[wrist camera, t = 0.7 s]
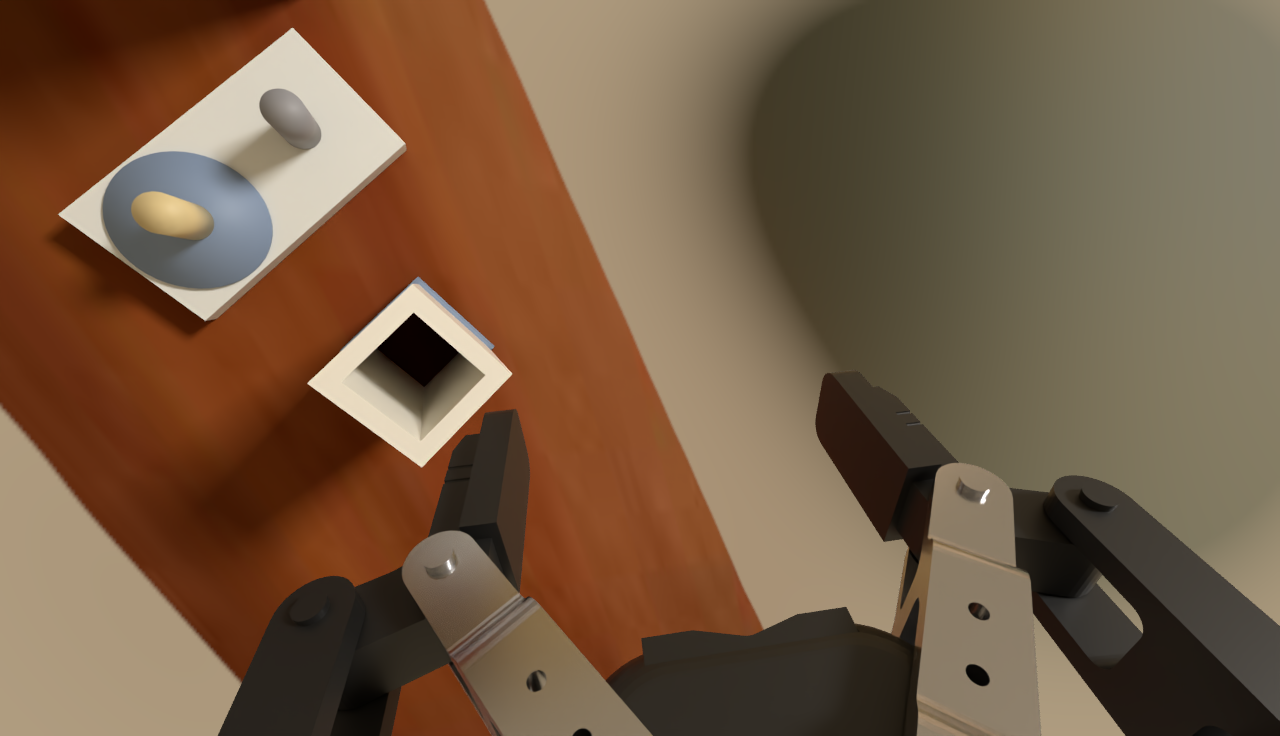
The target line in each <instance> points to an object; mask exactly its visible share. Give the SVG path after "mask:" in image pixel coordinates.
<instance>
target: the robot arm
mask: <svg viewBox="0 0 1280 736" xmlns="http://www.w3.org/2000/svg"><path fill="white" fill-rule="evenodd" d="M816 432H817V435H818V438H819V440H820V442H821V444H822V446H823V447H824V449H825V450H826V452H827V453H828V455H829V457H830V458H831V459H832V461H833V463H834V464H835V466H836V467H837V469H838V471H839V472H840V474H841V475H842V477H843V479H844V480H845V482H846V483H847V485H848V486H849V488H850V489H851V491H852V493H853V494H854V496H855V497H856V499H857V500H858V502H859V504H860V505H861V507H862V508H863V510H864V511H865V513H866V514H867V516H868V517H869V519H870V521H871V522H872V524H873V525H874V527H875V528H876V530H877V532H878V533H879V535H880V536H881V538H882V539H883V541H884V542H885V541H892V540H899V539H904V541H905V542H906V544H907V545H908V549H907V551H906V554H905V559H904V565H903V571H902V577H901V583H900V589H899V596H898V602H897V608H896V614H895V620H894V624H893V628H892V632H891V634H890V633H888V632H885V631H882V630H879V629H876V628H873V627H870V626H865V625H860V624H854V622H853V620H852V618H851V616H850V614H849V611H848V609H847V608H846V607H842V608H836V609H829V610H823V611H816V612H811V613H803V614H797V615H795V616H793V617H791V618H788V619H786V620H784V621H782V622H780V623H778V624H776V625H774V626H772V627H769V628H767V629H765V630H763V631H761V632H759V633H756V634H754V635H751V636H740V635H731V634H721V633H712V632H703V631H686V632H680V633H673V634H666V635H660V636H653V637H647V638H641V639H642V648H643V655H641V656H639V657H637V658H635V659H633V660H631V661H629V662H628V663H626V664H625V665H623V666H621V667H620V668H619V669H618V670H617V671H615V672H614V673H613V674H612V675H610V677H609V678H608V679H607V680H606V681H605V680H604V679H603V678H602V676H601V675H600V674H599V673H598V672H597V671H596V669H595V668H594V667H593V666H592V665H591V664H590V663H589V661H588V660H587V659H586V658H585V657H584V656H583V654H582V653H581V652H580V651H579V650H578V649H577V648H576V646H575V645H574V644H573V643H572V642H571V641H570V639H569V638H568V637H567V636H566V635H565V634H564V633H563V631H562V630H561V629H560V628H559V627H558V626H557V624H556V623H555V622H554V621H553V620H552V619H551V617H550V616H549V615H548V614H547V613H546V612H545V611H544V609H543V608H542V607H541V606H540V605H539V604H538V603H537V602H536V601H535V600H534V599H533V598H531V597H527V598H526V599H525V598H523V597H522V596H521V595H520V594H519V593H520V582H521V571H522V559H523V548H524V537H525V525H526V514H527V503H528V492H529V480H530V467H529V458H528V453H527V449H526V445H525V441H524V437H523V432H522V428H521V424H520V420H519V416H518V413H517V411H516V409H513V410H504V411H496V412H487V413H485V415H484V418H483V422H482V427H481V431H480V434H473V435H466V436H465V437H464V438H463V439H462V440H461V442H460V443H459V444H458V445H457V446H456V448H455V449H454V450H453V452H452V456H451V459H450V463H449V466H448V471H447V473H446V477H445V480H444V481H445V484H443V487H442V491H441V494H440V498H439V501H438V505H437V508H436V512H435V515H434V519H433V522H432V526H431V529H430V533H429V536H428V538H426V539H425V540H423V541H422V542H420V543H419V544H418V545H417V546H416V547H415V548H414V549H413V550H412V551H411V552H410V553H409V555H408V556H407V558H406V560H405V562H404V564H403V566H402V567H400V568H398V569H397V570H395V571H393V572H390V573H388V574H386V575H383V576H381V577H378V578H376V579H374V580H371V581H369V582H366V583H364V584H361V585H359V586H356V587H354V586H353V584H352V583H351V582H350V581H349V580H348V579H346V578H344V577H340V576H329V577H323V578H319V579H317V580H314V581H312V582H310V583H308V584H306V585H304V586H302V587H301V588H299V589H297V590H296V591H295V592H293V593H292V594H291V595H290V596H289V597H288V598H286V599H285V600H284V601H283V603H282V604H281V605H280V606H279V607H278V609H277V610H276V611H275V613H274V615H273V617H272V618H271V620H270V623H269V625H268V627H267V629H266V631H265V634H264V636H263V638H262V640H261V642H260V644H259V647H258V649H257V651H256V653H255V655H254V658H253V660H252V662H251V664H250V666H249V669H248V671H247V673H246V675H245V677H244V679H243V682H242V684H241V686H240V688H239V691H238V693H237V695H236V697H235V699H234V701H233V704H232V706H231V708H230V710H229V712H228V715H227V717H226V719H225V721H224V724H223V725H222V728H221V730H220V732H219V734H218V736H391V734H392V730H393V725H394V720H395V715H396V710H397V705H398V700H399V695H400V690H401V686H403V685H405V684H407V683H409V682H411V681H413V680H415V679H417V678H419V677H421V676H423V675H425V674H427V673H429V672H431V671H433V670H435V669H438V668H440V667H442V666H444V665H446V664H448V665H449V667H450V668H451V670H452V671H453V673H454V675H455V676H456V678H457V680H458V681H459V683H460V684H461V686H462V688H463V689H464V691H465V692H466V694H467V696H468V697H469V699H470V700H471V702H472V704H473V705H474V707H475V709H476V710H477V712H478V713H479V715H480V717H481V718H482V720H483V721H484V723H485V725H486V726H487V728H488V730H489V731H490V733H491V735H492V736H1041V725H1040V710H1039V695H1038V681H1037V666H1036V652H1035V637H1034V623H1033V614H1034V615H1035V616H1036V618H1037V619H1038V620H1039V621H1040V623H1041V624H1042V626H1043V627H1044V628H1045V630H1046V631H1047V632H1048V634H1049V635H1050V636H1051V638H1052V639H1053V640H1054V642H1055V643H1056V644H1057V646H1058V647H1059V648H1060V650H1061V651H1062V652H1063V653H1064V655H1065V656H1066V657H1067V659H1068V660H1069V661H1070V663H1071V664H1072V665H1073V666H1074V668H1075V669H1076V671H1077V672H1078V673H1079V675H1080V676H1081V677H1082V679H1083V680H1084V681H1085V683H1086V684H1087V685H1088V687H1089V688H1090V689H1091V690H1092V692H1093V693H1094V695H1095V696H1096V697H1097V698H1098V700H1099V701H1100V702H1101V704H1102V705H1103V706H1104V708H1105V709H1106V710H1107V712H1108V713H1109V714H1110V715H1111V717H1112V718H1113V720H1114V721H1115V722H1116V724H1117V725H1118V726H1119V727H1120V729H1121V730H1122V732H1123V733H1124V734H1125V736H1280V626H1279V625H1278V624H1277V623H1276V622H1274V621H1273V620H1272V619H1271V618H1270V617H1269V616H1267V615H1266V614H1265V613H1264V612H1263V611H1262V610H1260V609H1259V608H1258V607H1257V606H1256V605H1255V604H1253V603H1252V602H1251V601H1250V600H1249V599H1248V598H1246V597H1245V596H1244V595H1243V594H1242V593H1241V592H1239V591H1238V590H1237V589H1236V588H1235V587H1234V586H1233V585H1231V584H1230V583H1229V582H1228V581H1227V580H1226V579H1224V578H1223V577H1222V576H1221V575H1220V574H1218V573H1217V572H1216V571H1215V570H1214V569H1213V568H1212V567H1210V566H1209V565H1208V564H1207V563H1206V562H1204V561H1203V560H1202V559H1201V558H1200V557H1199V556H1198V555H1196V554H1195V553H1194V552H1193V551H1192V550H1191V549H1189V548H1188V547H1187V546H1186V545H1185V544H1184V543H1183V542H1181V541H1180V540H1179V539H1178V538H1177V537H1176V536H1174V535H1173V534H1172V533H1171V532H1170V531H1169V530H1167V529H1166V528H1165V527H1164V526H1162V524H1160V523H1159V522H1158V521H1157V520H1156V519H1155V518H1153V517H1152V516H1151V515H1150V514H1149V513H1148V512H1146V511H1145V510H1144V509H1143V508H1142V507H1140V506H1139V505H1138V504H1137V503H1136V502H1135V501H1134V500H1133V499H1131V498H1130V497H1129V496H1127V495H1126V494H1125V493H1123V492H1122V491H1120V490H1119V489H1117V488H1115V487H1113V486H1111V485H1109V484H1107V483H1105V482H1102V481H1099V480H1096V479H1093V478H1089V477H1084V476H1064V477H1061V478H1059V479H1058V480H1057V481H1056V482H1055V483H1054V485H1053V487H1052V489H1051V490H1050V492H1049V493H1048V492H1039V491H1030V490H1022V489H1013V488H1009V487H1008V486H1007V485H1006V484H1005V483H1004V482H1003V481H1002V480H1001V479H1000V478H999V477H997V476H996V475H994V474H993V473H991V472H989V471H987V470H985V469H983V468H980V467H977V466H974V465H970V464H965V463H959V462H958V461H957V460H956V459H955V458H954V457H953V456H952V455H951V454H950V453H949V452H948V451H947V450H946V449H945V448H944V447H943V445H942V444H941V443H940V442H939V441H938V440H937V439H936V438H935V437H934V436H933V435H932V434H931V433H930V432H929V431H928V429H927V428H926V427H925V426H924V425H921V424H920V421H919V420H918V419H917V418H916V417H915V416H914V415H913V414H912V413H911V414H910V410H909V409H908V408H907V407H906V406H905V405H904V404H903V403H902V402H901V401H900V400H899V399H898V398H897V397H896V396H894V395H892V394H891V393H889V392H887V391H886V390H883V389H882V388H880V387H872V386H871V385H870V383H869V382H867V380H866V379H865V378H864V377H863V376H862V374H860V372H858V371H856V370H851V371H842V372H835V373H827V374H826V375H825V376H824V378H823V381H822V386H821V392H820V397H819V403H818V409H817V414H816ZM1102 575H1103V576H1104V577H1105V578H1106V579H1107V580H1108V581H1109V582H1110V583H1111V584H1112V585H1113V586H1114V587H1115V588H1116V589H1117V591H1118V592H1119V593H1120V594H1121V595H1122V596H1123V597H1124V598H1125V599H1126V600H1127V601H1128V602H1129V603H1130V604H1131V605H1132V607H1133V608H1134V609H1135V610H1136V612H1137V613H1138V615H1139V617H1140V619H1141V621H1142V624H1143V634H1142V633H1141V631H1140V630H1139V629H1138V628H1137V627H1136V626H1135V625H1134V624H1133V623H1132V622H1131V621H1130V620H1129V618H1128V617H1127V616H1126V615H1125V614H1124V613H1123V612H1122V611H1121V610H1120V609H1119V608H1118V606H1117V605H1116V604H1115V603H1114V602H1113V601H1112V600H1111V599H1110V598H1109V597H1108V595H1107V594H1106V593H1105V592H1104V591H1103V590H1102V589H1101V588H1100V587H1099V586H1098V584H1097V581H1098V580H1099V579H1100V577H1101V576H1102Z"/></svg>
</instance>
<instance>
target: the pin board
mask: <svg viewBox="0 0 1280 736" xmlns="http://www.w3.org/2000/svg"><path fill="white" fill-rule="evenodd" d="M406 150H407V149H406V144H405V143H404V142H403V140H402V139H401V138H400V137H399V136H398V135H397V134H396V133H395V132H394V131H393V130H392V129H391V128H390V127H389V126H388V125H387V124H386V123H385V122H384V121H383V120H382V119H381V118H380V117H379V116H378V115H377V114H376V113H375V112H374V111H373V110H372V109H371V108H370V107H369V106H368V105H367V104H366V103H365V101H364V100H363V99H362V98H361V97H360V96H359V95H358V94H357V93H356V92H355V91H354V90H353V89H352V88H351V87H350V86H349V85H348V84H347V83H346V82H345V81H344V80H343V79H342V78H341V77H340V76H339V75H338V74H337V73H336V72H335V71H334V70H333V69H332V68H331V67H330V66H329V65H328V64H327V63H326V61H325V60H324V59H323V58H322V57H321V56H320V55H319V54H318V53H317V52H316V51H315V50H314V49H313V48H312V47H311V46H310V45H309V44H308V43H307V42H306V41H305V40H304V39H303V38H302V37H301V36H300V35H299V34H298V33H297V32H296V31H295V30H294V29H293V28H292V29H290V30H289V31H288V32H287V33H285V34H284V35H283V36H282V37H280V38H279V39H278V40H277V41H275V42H274V43H273V44H272V45H270V46H269V47H268V48H267V49H265V50H264V51H263V52H262V53H260V54H259V55H258V56H257V57H255V58H254V59H253V60H252V61H250V62H249V63H248V64H247V65H245V66H244V67H243V68H241V69H240V70H239V71H238V72H236V73H235V74H234V75H233V76H231V77H230V78H229V79H228V80H226V81H225V82H224V83H223V84H221V85H220V86H219V87H218V88H216V89H215V90H214V91H213V92H211V93H210V94H209V95H208V96H206V97H205V98H204V99H203V100H201V101H200V102H199V103H198V104H196V105H195V106H194V107H193V108H191V109H190V110H189V111H187V112H186V113H185V114H184V115H182V116H181V117H180V118H179V119H177V120H176V121H175V122H174V123H172V124H171V125H170V126H169V127H167V128H166V129H165V130H164V131H162V132H161V133H160V134H159V135H157V136H156V137H155V138H154V139H152V140H151V141H150V142H149V143H147V144H146V145H145V146H144V147H142V148H141V149H140V150H139V151H137V152H136V153H135V154H133V155H132V156H131V157H130V158H128V159H127V160H126V161H125V162H123V163H122V164H121V165H120V166H118V167H117V168H116V169H115V170H113V171H112V172H111V173H110V174H108V175H107V176H106V177H105V178H103V179H102V180H101V181H100V182H98V183H97V184H96V185H95V186H93V187H92V188H91V189H90V190H88V191H87V192H86V193H85V194H83V195H82V196H81V197H80V198H78V199H77V200H76V201H74V202H73V203H72V204H71V205H69V206H68V207H67V208H66V209H64V210H63V211H62V212H61V213H59V214H58V215H59V216H61V217H62V218H63V219H65V220H66V221H68V222H69V223H70V224H72V225H73V226H75V227H76V228H77V229H79V230H80V231H81V232H83V233H84V234H86V235H87V236H88V237H90V238H91V239H93V240H94V241H95V242H97V243H98V244H99V245H101V246H102V247H104V248H105V249H106V250H108V251H109V252H111V253H112V254H113V255H115V256H116V257H118V258H119V259H120V260H122V261H123V262H124V263H126V264H127V265H129V266H130V267H131V268H133V269H134V270H136V271H137V272H138V273H140V274H141V275H142V276H144V277H145V278H147V279H148V280H149V281H151V282H152V283H154V284H155V285H156V286H158V287H159V288H160V289H162V290H163V291H165V292H166V293H167V294H169V295H170V296H172V297H173V298H174V299H176V300H177V301H178V302H180V303H181V304H183V305H184V306H185V307H187V308H188V309H190V310H191V311H192V312H194V313H195V314H196V315H198V316H199V317H201V318H202V319H203V320H205V321H207V320H213V319H217V318H218V317H219V316H220V315H222V314H223V313H224V312H225V311H226V310H227V309H228V308H229V307H231V306H232V305H233V304H234V303H235V302H236V301H237V300H238V299H240V298H241V297H242V296H243V295H244V294H245V293H246V292H247V291H249V290H250V289H251V288H252V287H253V286H254V285H255V284H256V283H258V282H259V281H260V280H261V279H262V278H263V277H264V276H265V275H267V274H268V273H269V272H270V271H271V270H272V269H273V268H274V267H276V266H277V265H278V264H279V263H280V262H281V261H282V260H283V259H285V258H286V257H287V256H288V255H289V254H290V253H291V252H292V251H294V250H295V249H296V248H297V247H298V246H299V245H300V244H301V243H303V242H304V241H305V240H306V239H307V238H308V237H309V236H311V235H312V234H313V233H314V232H315V231H316V230H317V229H318V228H320V227H321V226H322V225H323V224H324V223H325V222H326V221H327V220H329V219H330V218H331V217H332V216H333V215H334V214H335V213H336V212H338V211H339V210H340V209H341V208H342V207H343V206H344V205H345V204H347V203H348V202H349V201H350V200H351V199H352V198H353V197H354V196H356V195H357V194H358V193H359V192H360V191H361V190H362V189H363V188H365V187H366V186H367V185H368V184H369V183H370V182H371V181H372V180H374V179H375V178H376V177H377V176H378V175H379V174H380V173H381V172H383V171H384V170H385V169H386V168H387V167H388V166H389V165H390V164H392V163H393V162H394V161H395V160H396V159H397V158H398V157H399V156H401V155H402V154H403V153H404V152H405V151H406Z"/></svg>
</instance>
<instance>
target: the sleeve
mask: <svg viewBox="0 0 1280 736" xmlns="http://www.w3.org/2000/svg"><path fill="white" fill-rule="evenodd" d="M413 313H415V314H416V315H417V316H418V317H419V318H421V319H422V320H423V321H424V322H425V323H426V324H427V325H429V326H430V327H431V328H432V329H433V330H434V331H435V332H437V333H438V334H439V335H440V336H441V337H442V338H443V339H445V340H446V341H447V342H448V343H449V344H450V345H451V346H453V347H454V348H455V349H456V350H457V351H458V352H459V353H458V354H457V355H456V356H455V357H454V358H453V359H452V360H451V361H450V362H449V363H448V364H447V365H446V366H445V367H444V368H443V369H442V370H441V371H440V372H439V373H438V374H437V375H436V376H435V377H434V378H433V379H432V380H431V381H430V382H429V383H428V384H427V385H426V386H425V387H423V386H422V385H421V384H420V383H418V382H417V381H416V380H415V379H414V378H412V377H411V376H410V375H409V374H407V373H406V372H405V371H404V370H402V369H401V368H400V367H399V366H397V365H396V364H395V363H394V362H393V361H391V360H390V359H389V358H388V357H386V356H385V355H384V354H383V353H381V352H380V351H379V350H378V349H376V348H377V347H378V346H379V345H380V344H381V343H382V342H383V341H384V340H386V339H387V338H388V337H389V336H390V335H391V334H392V333H393V332H394V331H395V330H396V329H397V328H398V327H399V326H400V325H401V324H402V323H403V322H404V321H405V320H406V319H407V318H408V317H409V316H410V315H412V314H413ZM494 347H495V346H494V345H493V344H492V343H491V342H489V341H488V340H487V339H486V338H485V337H484V336H483V335H482V334H481V333H480V332H478V331H477V330H476V329H475V328H474V327H473V326H472V325H471V324H470V323H469V322H467V321H466V320H465V319H464V318H463V317H462V316H461V315H460V314H459V313H458V312H457V311H455V310H454V309H453V308H452V307H451V306H450V305H449V304H448V303H447V302H446V301H444V300H443V299H442V298H441V297H440V296H439V295H438V294H437V293H436V292H435V291H433V290H432V289H431V288H430V287H429V286H428V285H427V284H426V283H425V282H424V281H422V280H421V279H420V278H419V277H417V278H416V279H415V280H414V281H413V282H412V283H411V284H410V285H409V286H408V287H406V288H405V289H404V290H403V291H402V292H401V293H400V294H399V295H398V296H397V297H396V298H395V299H394V300H393V301H392V302H391V303H390V304H389V305H387V306H386V307H385V308H384V309H383V310H382V311H381V312H380V313H379V314H378V315H377V316H376V317H375V318H374V319H373V320H372V321H371V322H370V323H368V324H367V325H366V326H365V327H364V328H363V329H362V330H361V331H360V332H359V333H358V334H357V335H356V336H355V337H354V338H353V339H352V340H351V341H349V342H348V343H347V344H346V345H345V346H344V347H343V348H342V349H341V350H340V351H341V352H340V353H339V354H338V355H337V356H336V357H334V358H333V359H332V360H331V361H330V362H329V363H328V364H327V365H326V366H325V367H324V368H323V369H322V370H321V371H320V372H319V373H318V374H317V375H315V376H314V377H313V378H312V379H311V380H310V381H309V382H308V383H307V384H308V385H310V386H311V387H313V388H314V389H315V390H317V391H318V392H319V393H321V394H322V395H323V396H325V397H326V398H328V399H329V400H330V401H332V402H333V403H334V404H336V405H337V406H338V407H340V408H341V409H343V410H344V411H345V412H347V413H348V414H349V415H351V416H352V417H354V418H355V419H356V420H358V421H359V422H360V423H362V424H363V425H364V426H366V427H367V428H369V429H370V430H371V431H373V432H374V433H375V434H377V435H378V436H380V437H381V438H382V439H384V440H385V441H386V442H388V443H389V444H390V445H392V446H393V447H395V448H396V449H397V450H399V451H400V452H401V453H403V454H404V455H406V456H407V457H408V458H410V459H411V460H412V461H414V462H415V463H416V464H418V465H419V466H421V467H423V466H424V465H425V464H426V463H427V461H428V460H429V459H430V458H431V457H432V456H433V455H434V454H435V453H436V452H437V451H438V450H439V449H440V448H441V447H442V446H443V445H444V444H445V443H446V442H447V441H448V440H449V439H450V438H451V437H452V436H453V435H454V434H455V433H456V432H457V431H458V430H459V428H460V427H461V426H462V425H463V424H464V423H465V422H466V421H467V420H468V419H469V418H470V417H471V416H472V415H473V414H474V413H475V412H476V411H477V410H478V409H479V408H480V407H481V406H482V405H483V404H484V403H485V402H486V401H487V400H488V399H489V398H490V396H491V395H492V394H493V393H494V392H495V391H496V390H497V389H498V388H499V387H500V386H501V385H502V384H503V383H504V382H505V381H506V380H507V379H508V378H509V377H510V376H511V375H512V373H511V372H510V371H509V370H508V369H507V367H506V366H505V365H504V364H503V363H502V362H501V361H500V360H499V359H498V358H497V356H496V355H495V354H494V353H493V352H492V351H491V350H492V349H493V348H494Z"/></svg>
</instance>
